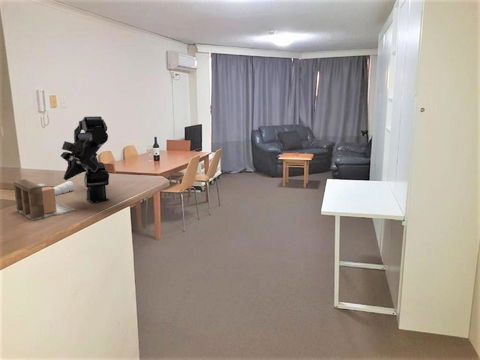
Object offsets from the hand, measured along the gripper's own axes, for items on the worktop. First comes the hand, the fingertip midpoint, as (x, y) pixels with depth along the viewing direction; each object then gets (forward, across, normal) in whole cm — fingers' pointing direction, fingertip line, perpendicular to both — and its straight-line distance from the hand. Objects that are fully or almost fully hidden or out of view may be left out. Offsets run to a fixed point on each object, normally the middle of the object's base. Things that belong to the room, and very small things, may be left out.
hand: (64, 179), depth 142 cm
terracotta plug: (+13, 0, +2) cm, 13 cm away
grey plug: (+13, -7, +2) cm, 15 cm away
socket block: (+13, -4, +4) cm, 14 cm away
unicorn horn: (+6, -24, +12) cm, 27 cm away
